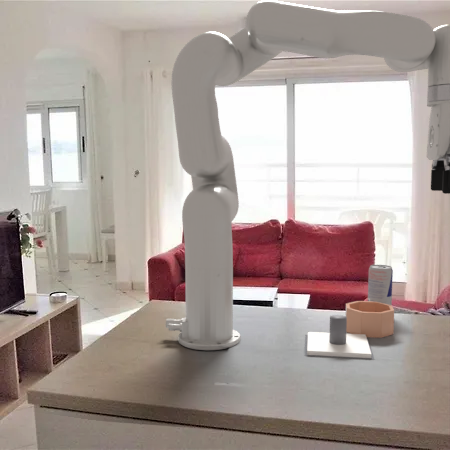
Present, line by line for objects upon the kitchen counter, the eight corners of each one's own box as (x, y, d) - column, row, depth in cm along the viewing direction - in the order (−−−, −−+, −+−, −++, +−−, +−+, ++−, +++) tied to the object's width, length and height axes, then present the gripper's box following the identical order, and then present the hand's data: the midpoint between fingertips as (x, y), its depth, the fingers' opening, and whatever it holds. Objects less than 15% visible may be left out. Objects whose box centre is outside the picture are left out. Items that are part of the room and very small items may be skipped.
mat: (304, 357, 103) (304, 355, 103) (305, 336, 115) (305, 334, 115) (374, 361, 101) (374, 359, 101) (367, 339, 113) (367, 337, 113)
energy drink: (393, 316, 130) (395, 266, 129) (387, 321, 126) (389, 269, 124) (371, 312, 133) (372, 263, 132) (364, 318, 128) (365, 267, 127)
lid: (307, 354, 103) (307, 324, 102) (307, 335, 114) (308, 308, 114) (371, 358, 101) (372, 327, 101) (365, 338, 113) (366, 310, 112)
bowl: (347, 337, 114) (347, 311, 113) (344, 324, 124) (345, 300, 123) (395, 340, 113) (396, 313, 112) (389, 326, 122) (389, 302, 121)
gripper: (418, 102, 109) (415, 189, 111) (438, 91, 92) (434, 194, 94) (458, 101, 108) (455, 189, 110) (486, 90, 91) (481, 194, 93)
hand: (445, 191), depth 102 cm, fingers open, 9 cm apart
